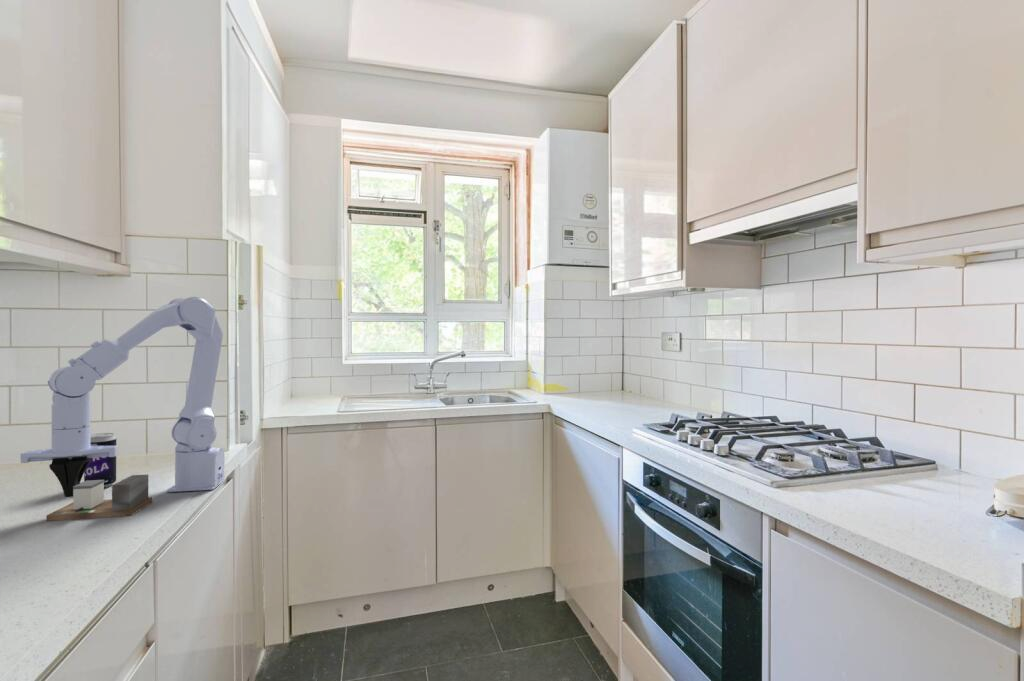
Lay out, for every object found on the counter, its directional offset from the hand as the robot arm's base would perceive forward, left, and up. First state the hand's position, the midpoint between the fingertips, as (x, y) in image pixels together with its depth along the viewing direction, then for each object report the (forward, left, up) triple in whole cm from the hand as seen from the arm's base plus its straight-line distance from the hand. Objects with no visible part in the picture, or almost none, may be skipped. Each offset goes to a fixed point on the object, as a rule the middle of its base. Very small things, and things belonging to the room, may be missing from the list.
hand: (71, 495), depth 96 cm
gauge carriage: (-3, +1, -2) cm, 4 cm away
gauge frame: (-6, 0, -3) cm, 7 cm away
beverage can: (+5, -18, -4) cm, 19 cm away
